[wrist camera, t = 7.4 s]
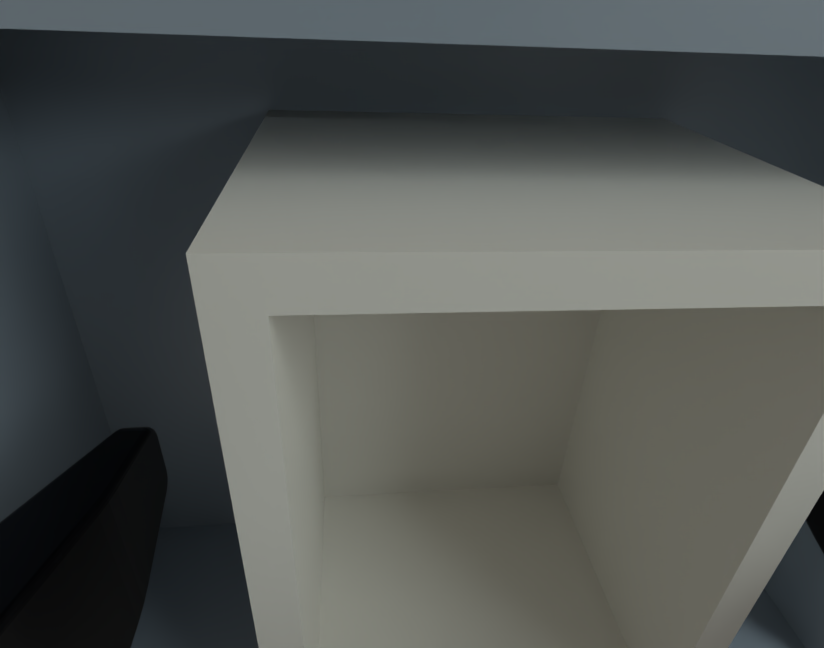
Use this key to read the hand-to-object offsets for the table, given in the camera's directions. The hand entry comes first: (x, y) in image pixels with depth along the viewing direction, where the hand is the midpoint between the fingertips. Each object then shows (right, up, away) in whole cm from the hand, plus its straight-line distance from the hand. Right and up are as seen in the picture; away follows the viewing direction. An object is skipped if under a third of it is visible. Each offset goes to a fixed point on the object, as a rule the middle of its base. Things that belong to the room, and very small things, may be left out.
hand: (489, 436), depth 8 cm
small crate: (0, +1, +3) cm, 3 cm away
